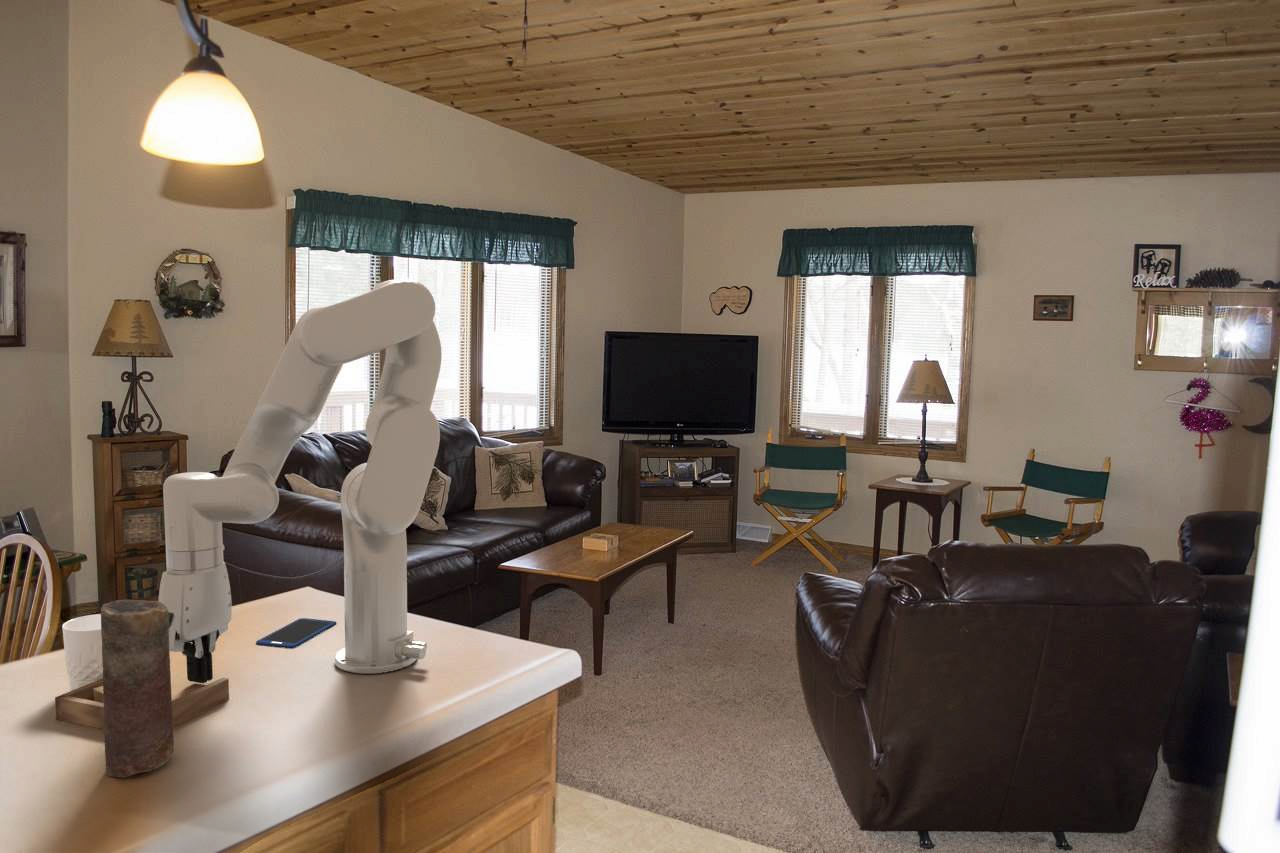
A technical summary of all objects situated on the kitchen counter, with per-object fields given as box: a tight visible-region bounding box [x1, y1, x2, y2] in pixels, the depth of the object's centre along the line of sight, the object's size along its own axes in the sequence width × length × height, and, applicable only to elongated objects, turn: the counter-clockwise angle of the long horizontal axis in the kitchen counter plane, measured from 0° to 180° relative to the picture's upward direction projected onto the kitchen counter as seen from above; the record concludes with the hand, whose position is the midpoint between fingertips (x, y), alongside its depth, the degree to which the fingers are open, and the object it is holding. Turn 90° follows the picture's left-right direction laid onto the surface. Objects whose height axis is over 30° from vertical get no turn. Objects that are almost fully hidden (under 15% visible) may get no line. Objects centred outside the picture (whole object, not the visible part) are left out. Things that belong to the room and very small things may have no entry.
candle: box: [100, 599, 175, 778], centre depth 115 cm, size 8×7×20 cm
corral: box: [54, 677, 230, 730], centre depth 133 cm, size 16×14×3 cm
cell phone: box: [255, 617, 337, 649], centre depth 165 cm, size 7×14×1 cm, turn 167°
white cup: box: [61, 613, 103, 692], centre depth 139 cm, size 8×8×10 cm
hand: (200, 680), depth 142 cm, fingers closed
